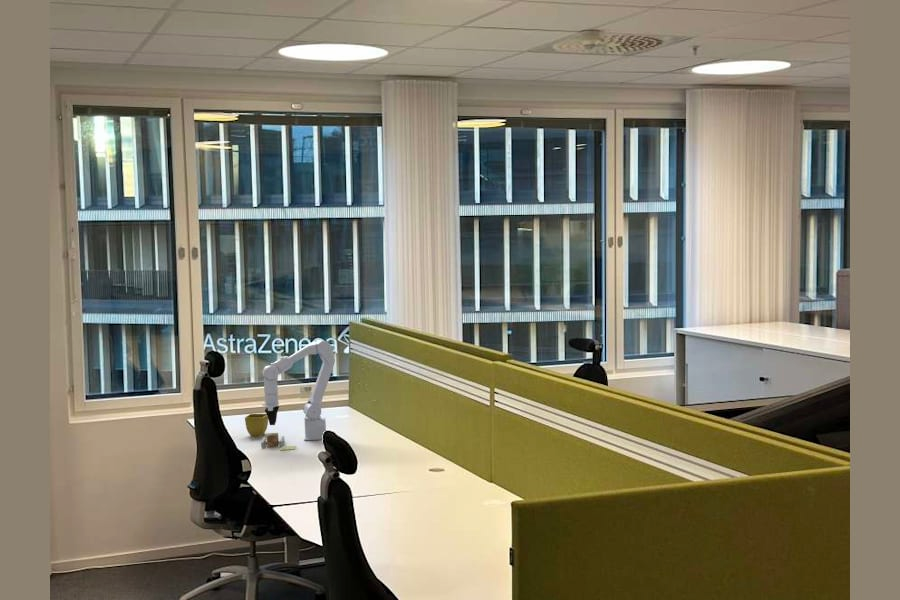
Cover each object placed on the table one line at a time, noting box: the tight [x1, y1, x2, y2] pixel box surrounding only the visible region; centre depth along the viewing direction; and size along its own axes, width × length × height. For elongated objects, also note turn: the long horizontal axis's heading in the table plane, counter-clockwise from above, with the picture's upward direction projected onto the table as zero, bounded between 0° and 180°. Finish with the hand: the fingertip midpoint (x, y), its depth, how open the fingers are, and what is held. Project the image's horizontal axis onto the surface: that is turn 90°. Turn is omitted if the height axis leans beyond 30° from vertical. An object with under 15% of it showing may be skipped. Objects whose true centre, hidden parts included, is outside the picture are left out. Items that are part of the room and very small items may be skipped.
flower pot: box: [244, 413, 269, 437], centre depth 420 cm, size 9×9×9 cm
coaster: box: [279, 445, 297, 451], centre depth 392 cm, size 6×6×1 cm
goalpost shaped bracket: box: [260, 435, 286, 449], centre depth 399 cm, size 9×10×2 cm
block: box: [266, 432, 280, 448], centre depth 398 cm, size 4×4×5 cm
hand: (272, 424), depth 402 cm, fingers open, 3 cm apart
